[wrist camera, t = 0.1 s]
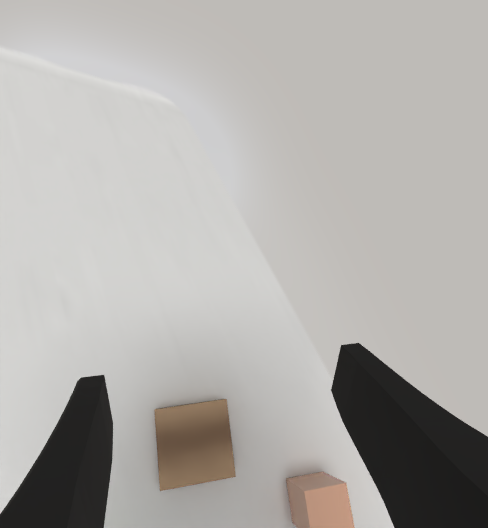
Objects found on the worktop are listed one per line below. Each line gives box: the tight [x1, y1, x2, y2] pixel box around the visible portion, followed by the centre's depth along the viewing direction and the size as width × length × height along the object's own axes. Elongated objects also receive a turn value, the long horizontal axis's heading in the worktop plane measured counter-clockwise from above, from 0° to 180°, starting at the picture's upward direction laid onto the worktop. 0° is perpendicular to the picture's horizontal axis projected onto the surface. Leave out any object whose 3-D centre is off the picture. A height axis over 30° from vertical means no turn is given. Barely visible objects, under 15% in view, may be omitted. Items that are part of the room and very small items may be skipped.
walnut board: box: [155, 399, 236, 491], centre depth 40 cm, size 7×7×3 cm
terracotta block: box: [286, 472, 354, 528], centre depth 38 cm, size 4×4×6 cm
